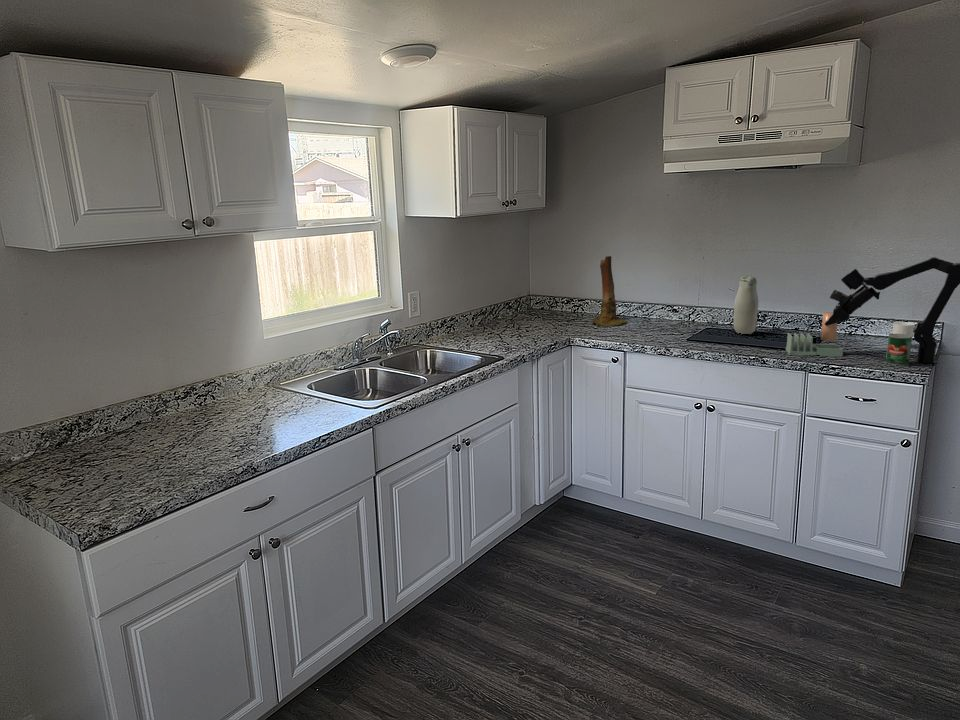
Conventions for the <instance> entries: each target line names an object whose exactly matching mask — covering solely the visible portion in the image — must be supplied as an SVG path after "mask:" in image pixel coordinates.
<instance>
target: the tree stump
mask: <svg viewBox="0 0 960 720" xmlns="http://www.w3.org/2000/svg"><path fill="white" fill-rule="evenodd" d="M599 267H600V274H601V285H602V286H601V287H602V289H601V290H602V291H601V293H602V300H601V301H602V302H601V304H600V315H599V316H597V317H595V318H593V319H592V324H595V326H599V327H614V326H622V325H624V324H628V320H626V319H623V318H620V317H619V316H617V315H618V313H617V302H616V301H617V300H616V296H615V294H616V293H615V283H614V278H613V277H614V276H613V271H612V256H611V255H608V256H607V255H606V256H605V258H604V259H600V264H599Z"/></svg>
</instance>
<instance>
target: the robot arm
mask: <svg viewBox="0 0 960 720" xmlns="http://www.w3.org/2000/svg"><path fill="white" fill-rule="evenodd" d="M930 270H937V271H939V272H941V273H944V274H946V277H945V280H944V284H943V286H942V287H941V290H940V291H939V293H938V296H937V297H936V299H935V300H934V302H933V303H932V306H931V308H930V310H929V311H928V312H927V315H926V316H925V318H924V319H923V320H922V321H921V320H919V319H918V320H917V323H916V324H915V327H914V329H913V332H914V333H913V339H914V341H916V342H917V343H918V347H917V353H916V354H917V356H916V358H915V357H913V361H915V362H917V363H918V364H932V365H933V364H935V365H936V364H938V361H936V360H935V356H936V350H937V345H938V342H937V341H938V340H937V339H936V338H935V337H934V336H933V334H934V331H935V326H936V324H937V321H938V319H939V318H940V317H941V315H942V312H944V309H945V308H946V305H947V304H948V302H949V300H950V298H951V297H952V295H953V293H954V292H955V290H956V289H957V288H958V286H960V262H955V263H953V262H950V261H947V260H944V259H940V258H938V257H936V256H935V257H934V256H932V257H930V258H927V259H926V260H923V261H921V262H918V263H914V264H912V265H910V266H907V267H904V268H900V269H899V270H894V271H887V272H882V273H879V274H876V275H874V276H873V277H872V276H871V277H864V276H863V275H862V274H861V273H860V271H859V270H858V269H857V268H854V269H853V270H852V271H850V272H849V273H847V274H846V275H844V276H843V277H842V278H841V279H840V281H841V282H842V283H843V284H844V285H845V286H846V287H847V288H848V289H849V290H853V291H855V292H853V293H850V294H849V295H847V294H845V293H843V292H842V291H839V290H837V289H834V290H833V291H832V293H830V295H829V299H830V300H831V299H832V300H833V301H834V300H835V301H836V302H838V303H837V304H836V306H835V307H834V308H833V309H832V310H833V315H832V316H831V317H830V318H829V319H828V320H827V322H826V323H825V325H826V326H828V325H831V324H834V323H837V324H838V323H840V322H846V321H847V320H849V319H850V316H851V315H853V313H854V312H855V311H857V310H858V309H860V308H862V306H863V305H864V304H866V303H867V302H868V301H869V300H872V299H873V298H875V299H876V300H879V299H880V294H881V291H883V290H885V289H887V288H888V287H891V286H893V285H895V284H896V283H898V282H899V281H902V280H905V279H907V278H911V277H913V276H915V275H919V274H922V273H924V272H927V271H930ZM869 286H870V287H869ZM858 288H859V289H858ZM876 290H878V291H876Z"/></svg>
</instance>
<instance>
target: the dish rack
mask: <svg viewBox="0 0 960 720" xmlns="http://www.w3.org/2000/svg"><path fill="white" fill-rule="evenodd" d="M786 336H787V337H786V338H787V339H786V346H785V351H786V352H787V354H788V355H789V354H791V355H790V356H804V355H820V356H819V357H839V356H842V357H843V354H844V353H843V352H844V349H843V348H842V347H841V346H840V345H838V344H837V343H836V344H833V343H813V340H814V337H813V336H812V335H811V334H810V333H808V332H807V333H806V336H805V335H804V334H803V333H802V332H801V333H800V334H799V335H798V334H797V333H796V332H794V333H793V336H792V334H791V333H790V332H787V335H786Z"/></svg>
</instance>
